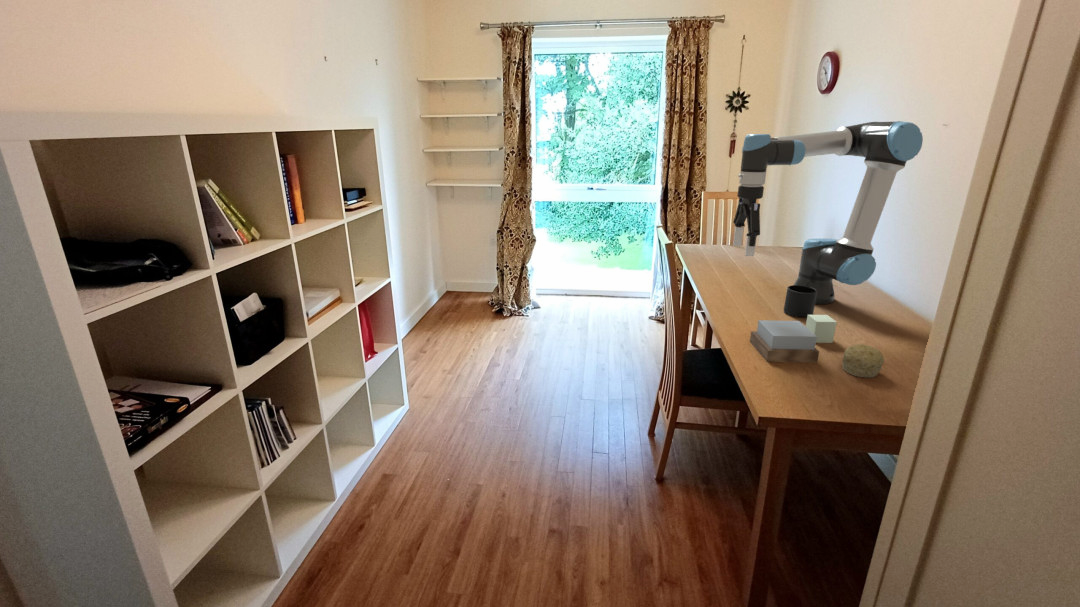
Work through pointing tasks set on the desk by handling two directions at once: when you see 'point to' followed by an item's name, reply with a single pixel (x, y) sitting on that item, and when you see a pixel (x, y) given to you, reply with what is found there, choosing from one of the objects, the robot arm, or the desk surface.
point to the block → (821, 327)
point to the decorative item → (862, 360)
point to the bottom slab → (782, 352)
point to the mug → (800, 301)
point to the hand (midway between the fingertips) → (742, 250)
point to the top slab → (786, 335)
